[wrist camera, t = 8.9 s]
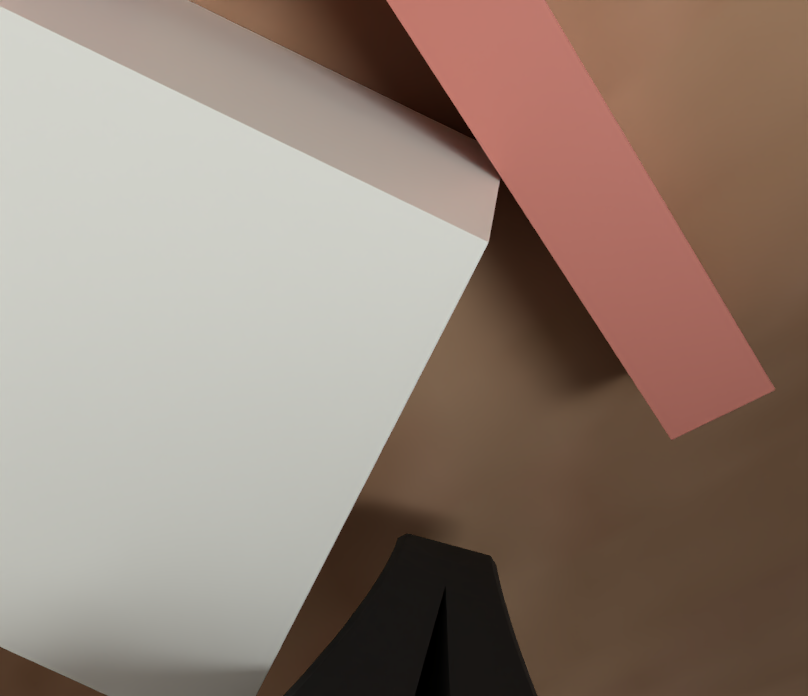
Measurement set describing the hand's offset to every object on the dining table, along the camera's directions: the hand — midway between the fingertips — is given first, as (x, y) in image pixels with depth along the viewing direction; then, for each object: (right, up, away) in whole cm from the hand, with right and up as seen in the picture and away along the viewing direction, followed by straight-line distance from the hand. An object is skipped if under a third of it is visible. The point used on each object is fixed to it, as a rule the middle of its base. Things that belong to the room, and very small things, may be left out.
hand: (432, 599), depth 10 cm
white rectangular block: (-2, +4, 0) cm, 5 cm away
